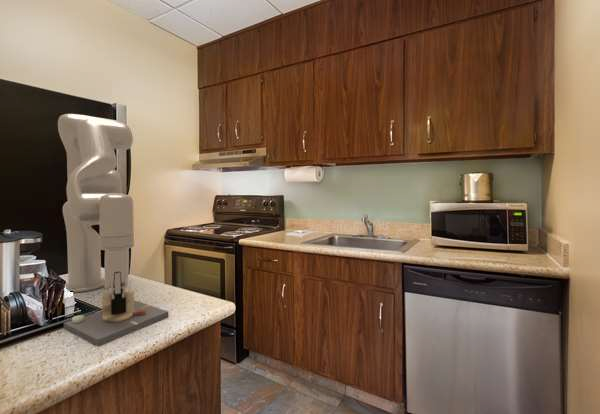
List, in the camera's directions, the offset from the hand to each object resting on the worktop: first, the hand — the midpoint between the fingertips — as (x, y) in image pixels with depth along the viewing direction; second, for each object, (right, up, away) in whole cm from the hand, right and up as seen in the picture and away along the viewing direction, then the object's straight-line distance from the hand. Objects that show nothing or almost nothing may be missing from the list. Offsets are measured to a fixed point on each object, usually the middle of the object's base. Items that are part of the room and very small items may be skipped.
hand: (118, 310), depth 78 cm
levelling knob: (+1, -2, 0) cm, 2 cm away
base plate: (0, -3, 0) cm, 3 cm away
